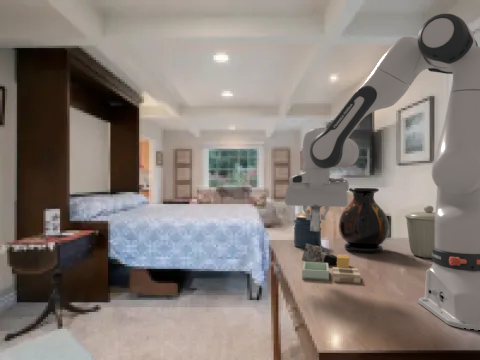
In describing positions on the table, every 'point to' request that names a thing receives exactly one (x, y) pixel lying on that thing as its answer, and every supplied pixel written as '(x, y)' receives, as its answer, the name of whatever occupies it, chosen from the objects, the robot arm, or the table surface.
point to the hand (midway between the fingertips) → (315, 219)
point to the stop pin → (315, 218)
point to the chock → (342, 261)
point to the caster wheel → (317, 255)
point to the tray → (315, 271)
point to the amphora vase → (363, 222)
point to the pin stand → (346, 275)
